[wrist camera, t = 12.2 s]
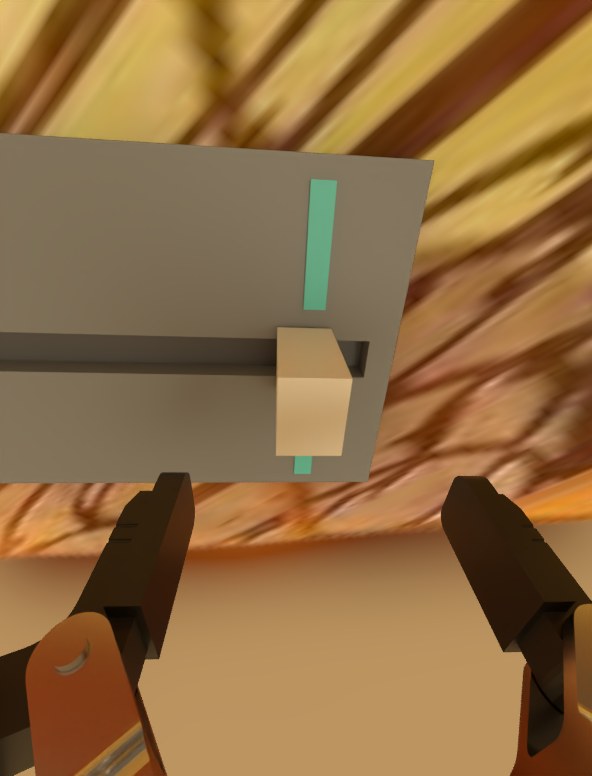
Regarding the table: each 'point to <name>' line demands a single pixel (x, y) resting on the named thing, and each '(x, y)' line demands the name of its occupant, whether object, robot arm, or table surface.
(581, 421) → the table surface
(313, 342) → the fader tab
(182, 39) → the table surface
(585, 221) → the table surface
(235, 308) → the panel
